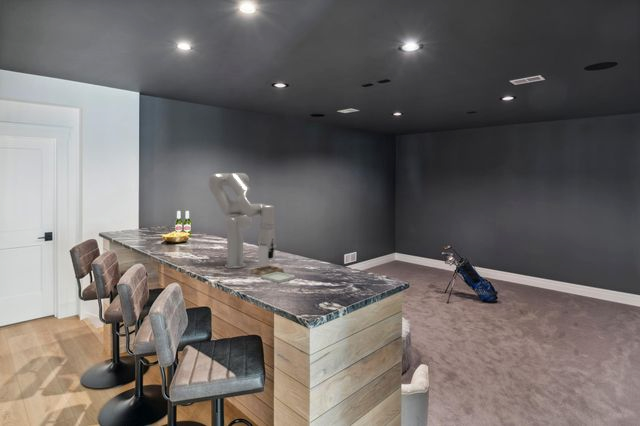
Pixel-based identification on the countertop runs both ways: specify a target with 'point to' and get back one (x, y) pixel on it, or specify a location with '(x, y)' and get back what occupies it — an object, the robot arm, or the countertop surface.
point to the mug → (264, 256)
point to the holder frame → (259, 270)
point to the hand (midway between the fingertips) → (266, 256)
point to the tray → (278, 277)
